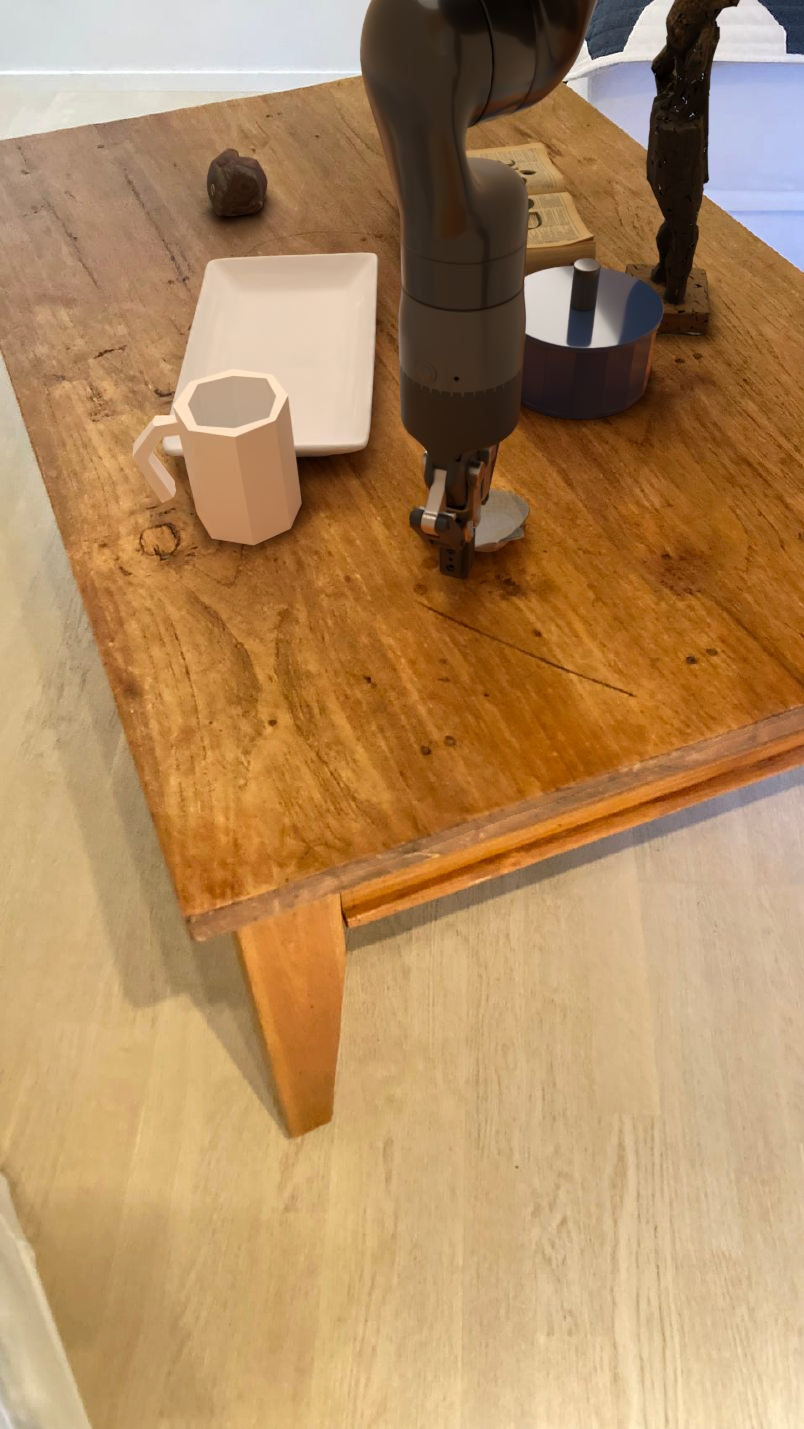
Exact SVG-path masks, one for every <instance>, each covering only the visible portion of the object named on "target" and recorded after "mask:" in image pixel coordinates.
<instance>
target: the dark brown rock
mask: <svg viewBox="0 0 804 1429" xmlns="http://www.w3.org/2000/svg"><path fill="white" fill-rule="evenodd" d="M206 190H207V195H208V199H209V201H210V204H211V206H212V208H213V210H214V212H215V214H216V215H218V216H219V217H236V216H244V215H249V214H253V213H256V212H258V211H259V210H260V209H262V207H263V206H264V201H265V199H266V193H267V190H268V178H267V175H266V172H265V170H264V169H263V167H262V166H261V164H260V161H259V160H258V159H256V158H254V157H251V156H240V154H239V152H238V150H237V149H235V148H230V147H229V148H226V149H224V150H223V151H222V152H221V153H220V154H218V156H217V155H216V157H215V158H214V159H213V160H212V161H211V162H210V165H209V167H208V171H207V175H206Z"/></svg>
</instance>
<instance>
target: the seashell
mask: <svg viewBox="0 0 804 1429" xmlns="http://www.w3.org/2000/svg"><path fill="white" fill-rule="evenodd" d="M530 513H531V508H530V506H529V503H528V502H527V500H525V499H524V498H523V497H522V496H521V495H518V494H517V493H513V492H511V491H510V490H507V491H505V490H504V489H496V488H493V487H492V488H490V490H489V499H488V501H487V502H486V504H485V506H484V505H481V521H480V523H479V524H478V527H477V528H476V533H475V552H480V553H491V552H496V551H498V550H500V549H502V548H503V547H504V546H505V545H506V544H508V543H509V542H510V541H515V540H521V539H523V538H525V534H524V530H523V529H522V528H523V526H524V524H525V521H526V520H528V519H527V518H528V517H529V516H530ZM473 528H475V527H473Z"/></svg>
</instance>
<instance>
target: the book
mask: <svg viewBox="0 0 804 1429" xmlns="http://www.w3.org/2000/svg"><path fill="white" fill-rule="evenodd" d="M466 156H467V157H477V158H486V159H491V160H495V161H499V162H502V163H504V164H506V165H508V166H510V167H511V168H513V169H514V170H515V171H516V172H517V173H518V174H519V175H520V176H521V177H522V179H523V181H524V183H525V185H526V188H527V192H528V203H529V223H528V238H527V252H526V267H525V277H526V276H528V275H530V274H533V273H535V272H538V271H542V270H545V269H550V268H556V267H563V266H574V263H575V262H576V261H577V260H579V259H584V258H589V259H594V260H596V251H597V249H596V248H597V246H596V245H597V242H596V240H595V237H596V235H595V234H593V233H591V232H590V231H589V229H588V228H587V226H586V225H585V223H584V222H583V219H582V218H581V216H580V214H579V212H578V209H577V206H576V205H575V202H574V199H573V197H572V196H571V194H570V193H569V192H567V191H566V182H565V177H564V176H563V174H562V173H561V172H560V171H559V169H557V167H555V166H554V164H553V163H552V160H550V157H549V155H548V151H547V149H546V147H545V146H544V143H543V142H540V141H536V142H535V141H534V142H531V143H524V144H519V145H507V146H497V147H489V148H482V149H481V148H480V149H479V148H478V149H466Z"/></svg>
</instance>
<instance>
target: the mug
mask: <svg viewBox="0 0 804 1429" xmlns="http://www.w3.org/2000/svg"><path fill="white" fill-rule="evenodd" d="M173 409H174V414H175V415H170V414H168V415H167V414H165V415H160V414H159V415H154V416H153V418H152V419H151V420H150V422H149V423H148V424H147V425H146V427H145V428H144V430H143V431H141V433H140V435H139V436H138V437H137V439H135V441H133V446H132V455H131V458H132V460H133V461H134V463H135V465H136V466H137V468H138V469H139V471H140V472H141V474H142V475H143V477H144V478H145V480H146V481H147V483H148V484H149V486H150V487H151V489H152V491H153V492H154V494H155V495H156V497H157V498H158V499H159V502H161V503H162V504H163V503H165V502H167V501H169V500H172V499H173V498H174V497H175V495H176V493H177V489H176V483H175V479H174V478H173V477H172V476H171V474H170V473H169V471H168V470H167V469H166V468H165V466H164V465H163V463H162V462H161V461H160V459H159V458H158V457H157V456H156V454H155V453H154V450H155V449H156V448H157V446H158V445H159V443H160V442H161V441H162V440H163V438H164V437H169V436H176V435H179V436H180V440H181V445H182V449H183V454H184V457H183V458H184V463H185V467H186V471H187V472H186V473H187V476H188V481H189V484H190V489H191V494H192V499H193V503H194V507H195V508H194V509H195V511H196V514H197V517H198V518H199V520H200V522H201V523H202V525H203V526H204V528H205V530H206V532H207V533H208V535H209V536H210V538H211V539H213V540H219V541H225V542H231V543H237V544H241V545H242V544H243V545H249V546H255V545H258V544H260V543H262V542H265V541H267V540H269V539H271V538H273V537H276V536H277V535H280V534H282V533H284V532H287V531H289V530H291V528H292V527H293V524H294V522H295V520H296V518H297V515H298V513H299V510H300V508H301V506H302V496H301V486H300V480H299V478H300V477H299V471H298V463H297V457H296V454H295V446H294V438H293V431H292V423H291V415H290V407H289V399H288V395H287V393H286V392H285V391H284V389H283V388H282V387H281V385H280V384H279V383H278V381H277V380H276V379H275V378H274V376H273V375H272V374H265V373H258V372H251V371H244V370H237V369H231V370H227V371H224V372H221V373H217V374H214V375H211V376H207V377H204V378H201V379H198V380H194V381H191V382H189V383H188V385H187V386H186V388H185V389H184V391H183V392H182V393H181V395H180V396H179V398H178V399H177V400H176V402H175V403H174V405H173Z"/></svg>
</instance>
